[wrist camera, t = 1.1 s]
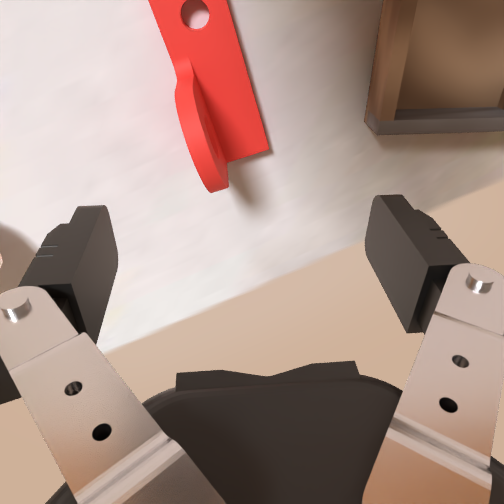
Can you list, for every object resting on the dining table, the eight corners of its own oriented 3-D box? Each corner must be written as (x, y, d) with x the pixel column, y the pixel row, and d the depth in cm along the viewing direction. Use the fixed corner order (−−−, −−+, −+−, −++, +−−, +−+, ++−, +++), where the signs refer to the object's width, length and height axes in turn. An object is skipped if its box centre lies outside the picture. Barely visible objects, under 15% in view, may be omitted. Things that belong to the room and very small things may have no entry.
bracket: (267, 143, 32) (282, 190, 26) (212, 161, 33) (213, 211, 26) (215, -37, 25) (218, -35, 19) (146, -12, 26) (126, -1, 19)
